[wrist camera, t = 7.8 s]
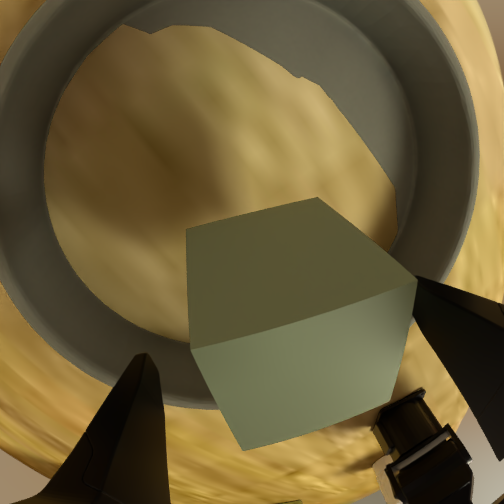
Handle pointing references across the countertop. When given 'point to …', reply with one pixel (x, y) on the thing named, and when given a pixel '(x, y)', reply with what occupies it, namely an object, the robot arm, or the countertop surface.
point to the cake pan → (298, 64)
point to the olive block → (294, 319)
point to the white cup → (384, 479)
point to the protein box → (293, 502)
